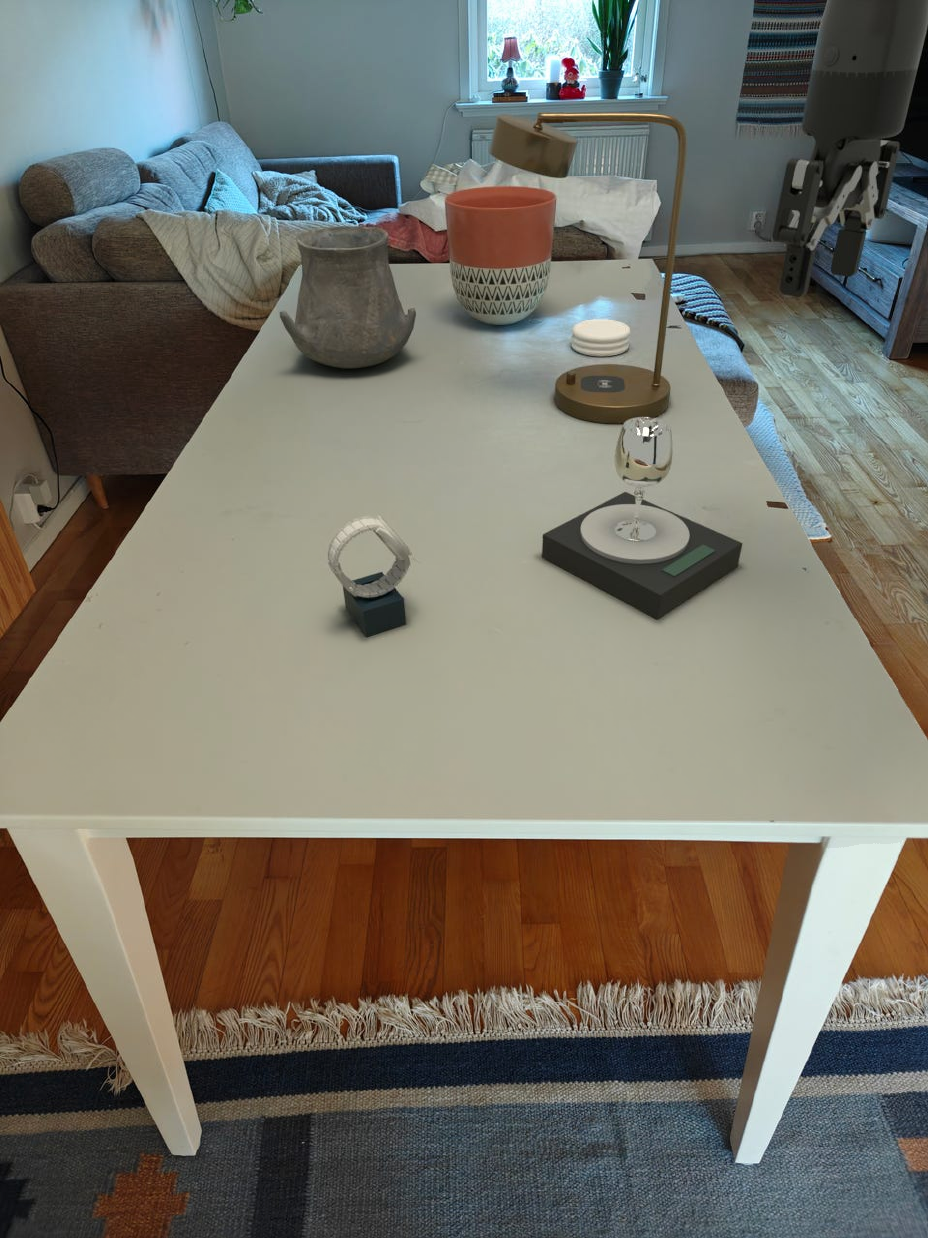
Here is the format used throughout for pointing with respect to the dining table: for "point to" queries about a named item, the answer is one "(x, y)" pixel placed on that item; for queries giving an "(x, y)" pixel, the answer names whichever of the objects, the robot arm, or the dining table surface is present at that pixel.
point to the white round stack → (600, 337)
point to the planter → (500, 249)
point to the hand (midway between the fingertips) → (818, 284)
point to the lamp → (635, 389)
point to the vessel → (348, 299)
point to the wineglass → (642, 467)
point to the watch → (372, 578)
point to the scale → (642, 554)
